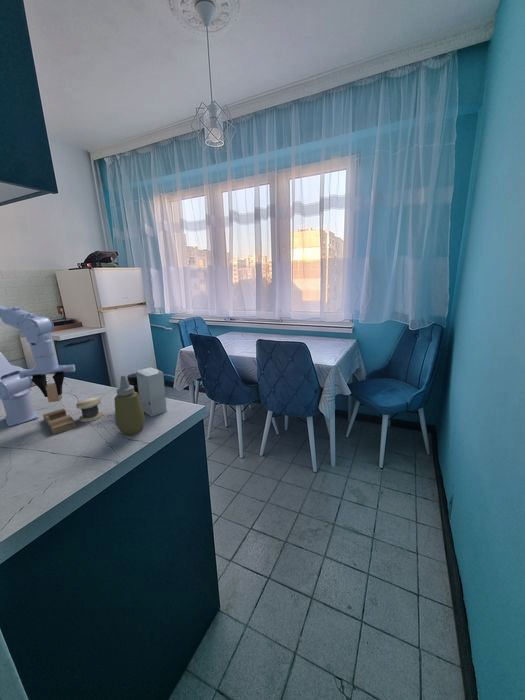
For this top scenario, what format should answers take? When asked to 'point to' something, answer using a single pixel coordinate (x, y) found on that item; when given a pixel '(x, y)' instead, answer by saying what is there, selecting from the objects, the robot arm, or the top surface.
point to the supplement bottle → (133, 381)
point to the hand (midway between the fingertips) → (53, 395)
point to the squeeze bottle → (128, 409)
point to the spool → (89, 409)
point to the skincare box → (151, 391)
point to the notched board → (59, 421)
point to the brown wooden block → (52, 393)
